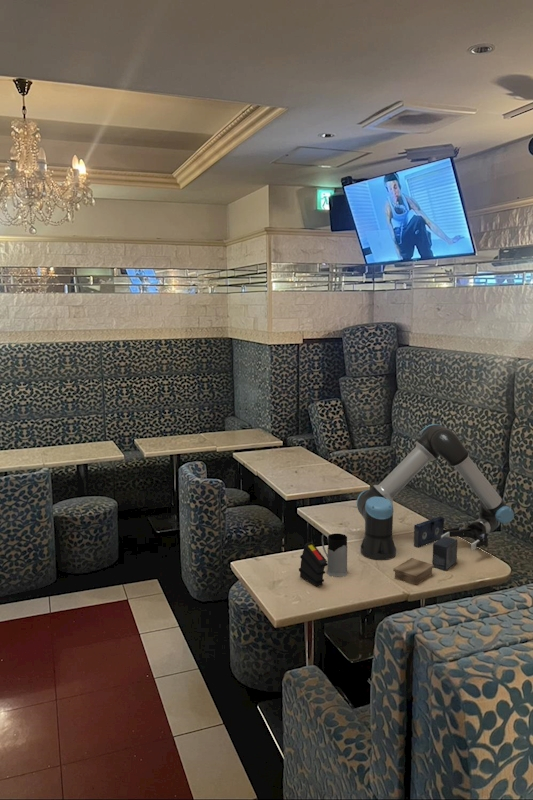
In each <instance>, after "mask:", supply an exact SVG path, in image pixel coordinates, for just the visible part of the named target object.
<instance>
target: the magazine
mask: <svg viewBox="0 0 533 800" xmlns="http://www.w3.org/2000/svg"><path fill="white" fill-rule="evenodd" d="M302 548H303V551H302V554H301V555H300V557H299V558H300V559H301V560H300V568H298V572H300V574H299V577H300V578H301V579H303V580H304V581H306V582H308V583H309V584H310V585H313V586H314V587H316V588H317V587H321V586H323V583H324V582H325V579H324V574H326V572H325V568H326V567H327V565H328V564H327V562H328V560H327V559H326V558H325V556H324V555H323V554H322V553H321V552H320V551H319V549H318V548H317V546H315V544H314V542H311V541H310V542H307V543H305V544H304V545H303V547H302Z"/></svg>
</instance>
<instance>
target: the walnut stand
mask: <svg viewBox="0 0 533 800" xmlns="http://www.w3.org/2000/svg"><path fill="white" fill-rule="evenodd" d="M433 567H434V565H433V563H430V562H426V561H423V560H420V559H417V558H414V557H411V558H409V559H407V560H406V561H403V562H402V563H399V565H397V566H395V567H393V568H392V569H393V570H392V571H393V572H394V579H396V580H399V581H403V582H404V581H405V583H408V584H411V585H412V586H416V585H418V584H419V583H421V582H422V581H424V580H426V579H427V578H428V577H430V576H432V575H433V569H434V568H433Z"/></svg>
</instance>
